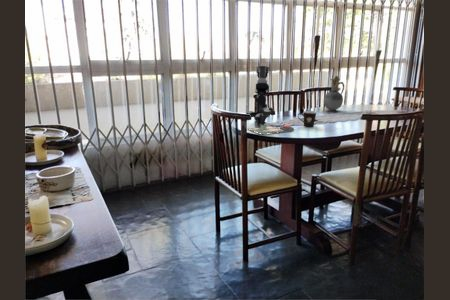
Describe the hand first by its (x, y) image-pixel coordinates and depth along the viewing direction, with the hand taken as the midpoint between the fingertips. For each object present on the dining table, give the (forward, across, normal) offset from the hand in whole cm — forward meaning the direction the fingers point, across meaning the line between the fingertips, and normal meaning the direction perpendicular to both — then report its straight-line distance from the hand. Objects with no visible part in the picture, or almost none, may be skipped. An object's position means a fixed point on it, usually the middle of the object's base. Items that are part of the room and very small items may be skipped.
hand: (260, 126), depth 208 cm
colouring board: (+4, +4, 0) cm, 5 cm away
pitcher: (+4, +97, +35) cm, 103 cm away
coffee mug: (+4, +38, 0) cm, 38 cm away
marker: (+1, 0, 0) cm, 1 cm away
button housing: (+4, +18, -4) cm, 19 cm away
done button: (+2, +18, -4) cm, 18 cm away
